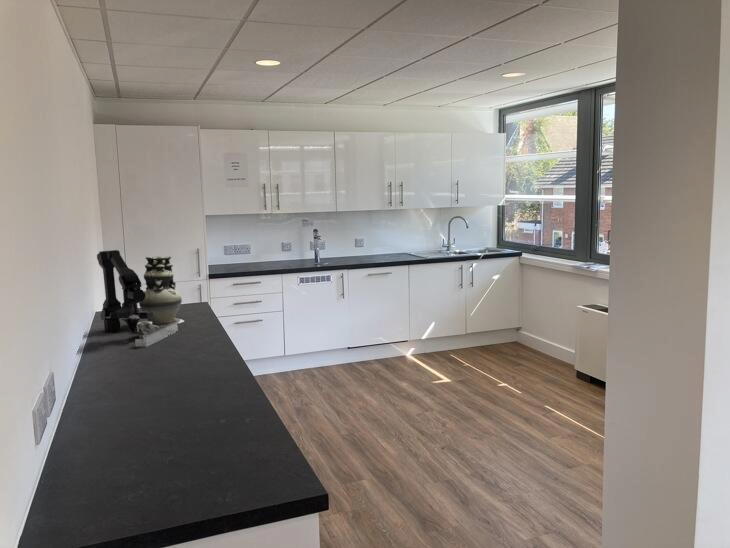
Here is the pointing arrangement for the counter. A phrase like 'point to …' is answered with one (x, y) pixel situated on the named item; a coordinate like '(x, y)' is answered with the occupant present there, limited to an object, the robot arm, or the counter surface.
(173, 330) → the bracket
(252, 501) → the counter surface
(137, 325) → the module
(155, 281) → the decorative urn
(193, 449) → the counter surface
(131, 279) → the robot arm
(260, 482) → the counter surface
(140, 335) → the rock
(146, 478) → the counter surface
